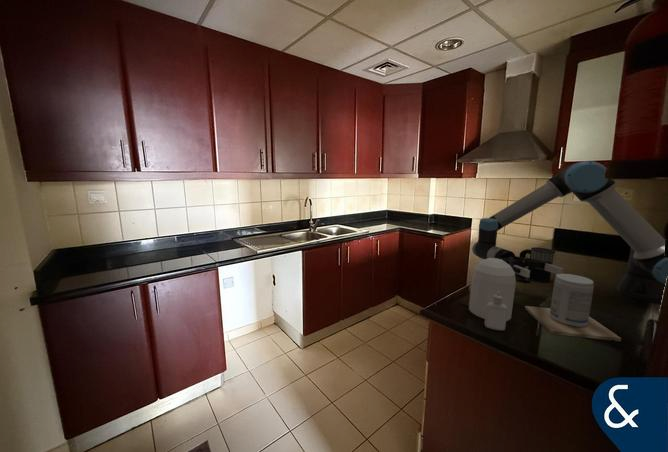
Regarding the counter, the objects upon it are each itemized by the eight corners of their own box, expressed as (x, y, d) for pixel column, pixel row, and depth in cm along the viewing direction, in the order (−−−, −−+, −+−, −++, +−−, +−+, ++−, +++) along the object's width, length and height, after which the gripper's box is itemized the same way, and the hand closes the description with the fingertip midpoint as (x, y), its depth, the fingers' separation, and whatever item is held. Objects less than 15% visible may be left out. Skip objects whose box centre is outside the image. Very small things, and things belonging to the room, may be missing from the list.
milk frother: (551, 279, 129) (556, 249, 127) (548, 288, 118) (553, 256, 115) (516, 272, 139) (520, 244, 136) (510, 280, 127) (514, 250, 125)
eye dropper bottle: (501, 333, 82) (506, 297, 80) (482, 326, 87) (486, 291, 85) (506, 328, 85) (511, 293, 83) (487, 321, 89) (491, 287, 87)
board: (581, 313, 95) (581, 311, 95) (620, 341, 79) (621, 338, 79) (524, 308, 99) (525, 305, 99) (551, 333, 83) (551, 330, 82)
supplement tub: (591, 322, 87) (599, 280, 85) (581, 331, 82) (590, 286, 80) (554, 310, 95) (561, 271, 93) (544, 317, 90) (550, 276, 88)
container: (516, 324, 88) (524, 266, 84) (470, 317, 92) (476, 261, 89) (505, 307, 100) (512, 255, 97) (466, 301, 105) (471, 251, 101)
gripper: (525, 264, 119) (574, 281, 99) (474, 266, 116) (513, 285, 95) (527, 247, 118) (577, 261, 97) (476, 249, 115) (515, 264, 94)
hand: (545, 273), depth 96 cm, fingers open, 13 cm apart
